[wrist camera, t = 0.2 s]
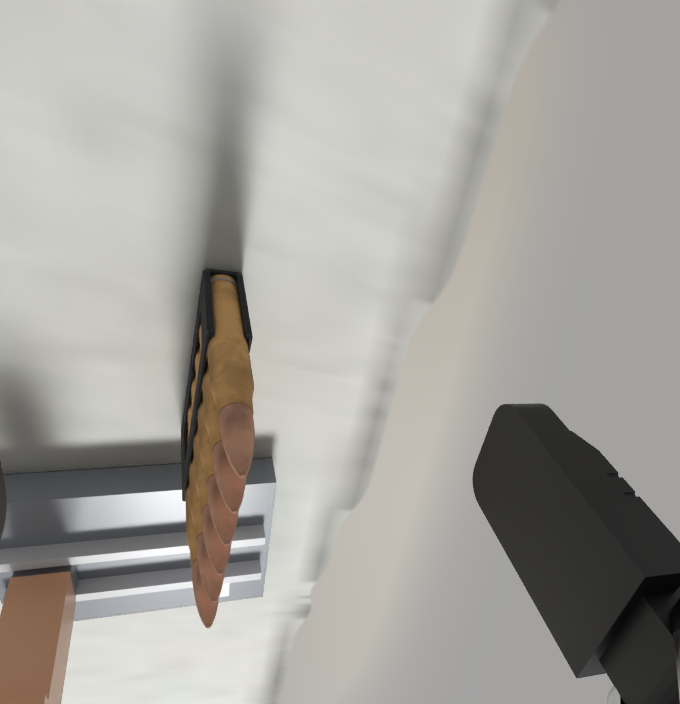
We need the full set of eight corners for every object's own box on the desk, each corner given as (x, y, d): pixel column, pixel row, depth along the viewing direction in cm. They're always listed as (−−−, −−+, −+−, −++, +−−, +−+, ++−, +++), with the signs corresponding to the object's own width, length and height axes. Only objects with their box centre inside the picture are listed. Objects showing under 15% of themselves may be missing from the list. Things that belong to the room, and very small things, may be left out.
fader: (12, 551, 32) (-41, 751, 24) (71, 545, 32) (38, 737, 25) (26, 595, 34) (-18, 789, 26) (80, 589, 35) (53, 775, 27)
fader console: (-23, 476, 31) (-39, 522, 28) (271, 457, 35) (278, 496, 33) (17, 600, 38) (7, 644, 35) (259, 571, 42) (264, 609, 39)
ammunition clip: (203, 267, 26) (217, 455, 17) (242, 271, 27) (277, 455, 18) (181, 433, 32) (182, 642, 23) (214, 434, 33) (228, 638, 23)
